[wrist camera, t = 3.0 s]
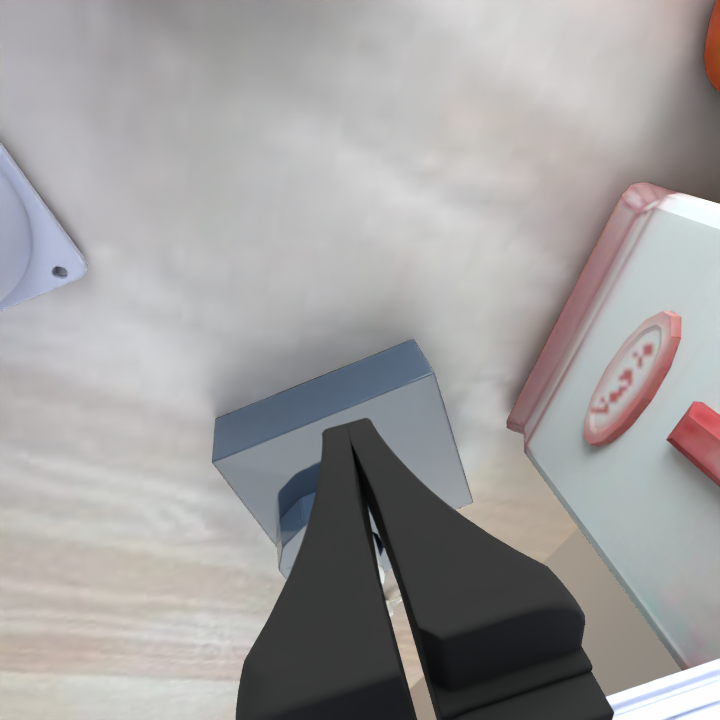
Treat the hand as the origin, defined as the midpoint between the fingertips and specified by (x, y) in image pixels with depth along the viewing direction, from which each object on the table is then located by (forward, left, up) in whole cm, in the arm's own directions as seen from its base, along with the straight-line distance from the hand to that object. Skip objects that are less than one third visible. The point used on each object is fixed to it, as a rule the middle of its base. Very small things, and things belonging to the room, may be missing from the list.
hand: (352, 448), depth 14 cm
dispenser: (-2, -9, -10) cm, 14 cm away
